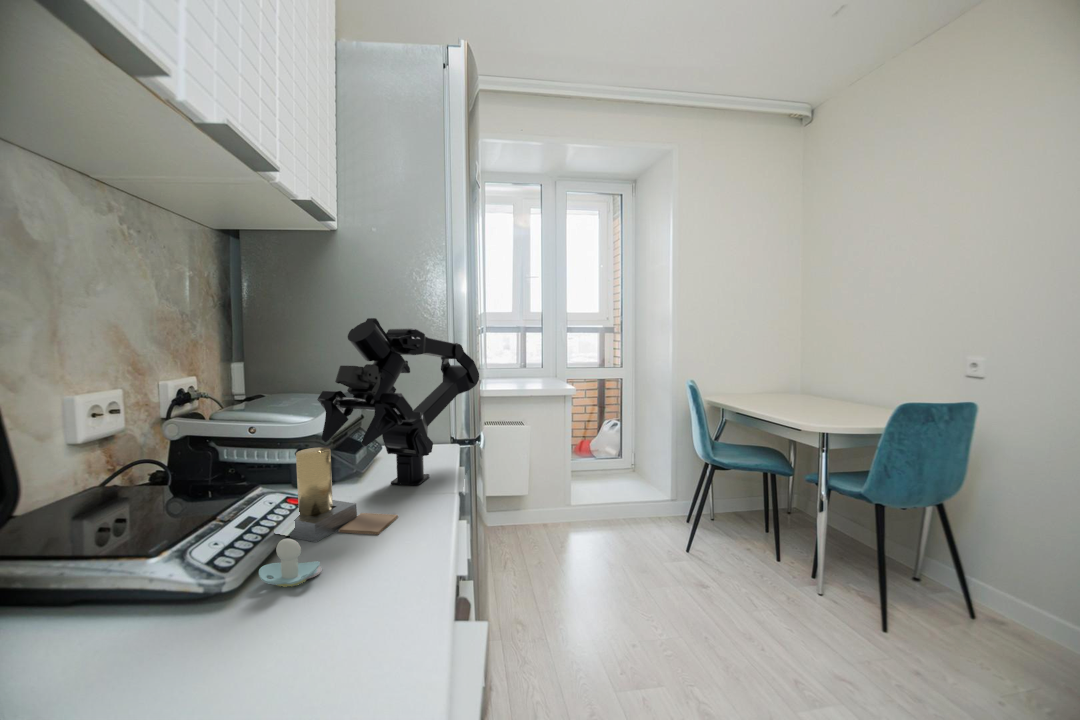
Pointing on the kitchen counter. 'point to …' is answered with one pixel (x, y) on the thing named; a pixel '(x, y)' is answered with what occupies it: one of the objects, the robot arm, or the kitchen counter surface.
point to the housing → (324, 522)
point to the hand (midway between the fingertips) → (343, 443)
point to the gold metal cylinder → (314, 481)
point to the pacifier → (288, 566)
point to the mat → (368, 523)
